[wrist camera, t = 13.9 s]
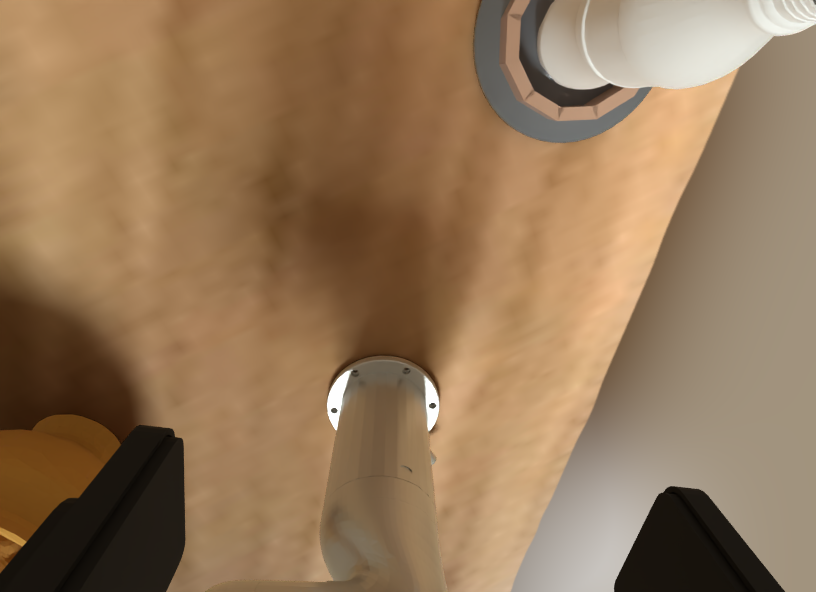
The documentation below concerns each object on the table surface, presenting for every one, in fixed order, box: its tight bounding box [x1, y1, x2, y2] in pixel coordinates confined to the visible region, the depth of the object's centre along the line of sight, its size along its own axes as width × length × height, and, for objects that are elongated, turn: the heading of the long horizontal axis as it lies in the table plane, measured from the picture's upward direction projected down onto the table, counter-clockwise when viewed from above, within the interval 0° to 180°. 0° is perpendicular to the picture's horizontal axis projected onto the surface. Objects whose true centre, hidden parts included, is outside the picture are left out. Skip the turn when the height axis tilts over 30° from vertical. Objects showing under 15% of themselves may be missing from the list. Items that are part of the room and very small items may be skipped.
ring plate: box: [473, 0, 652, 143], centre depth 36 cm, size 16×16×4 cm
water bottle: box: [537, 0, 816, 89], centre depth 26 cm, size 7×7×25 cm
